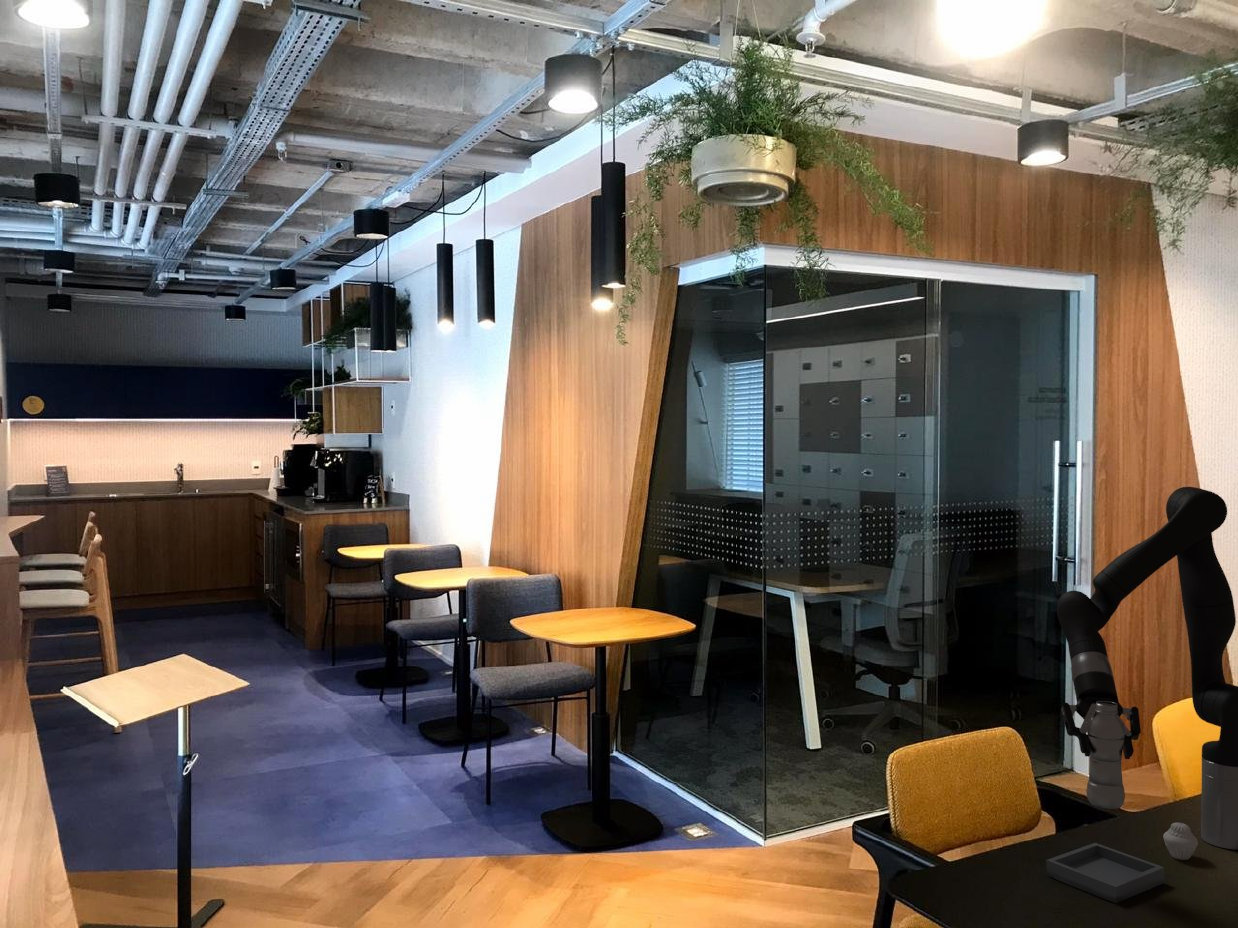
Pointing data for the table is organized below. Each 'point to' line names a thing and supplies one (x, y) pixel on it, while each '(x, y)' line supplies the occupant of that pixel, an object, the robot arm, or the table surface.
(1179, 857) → the muffin
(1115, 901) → the tray
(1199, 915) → the table surface
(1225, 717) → the robot arm
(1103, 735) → the plastic bottle
